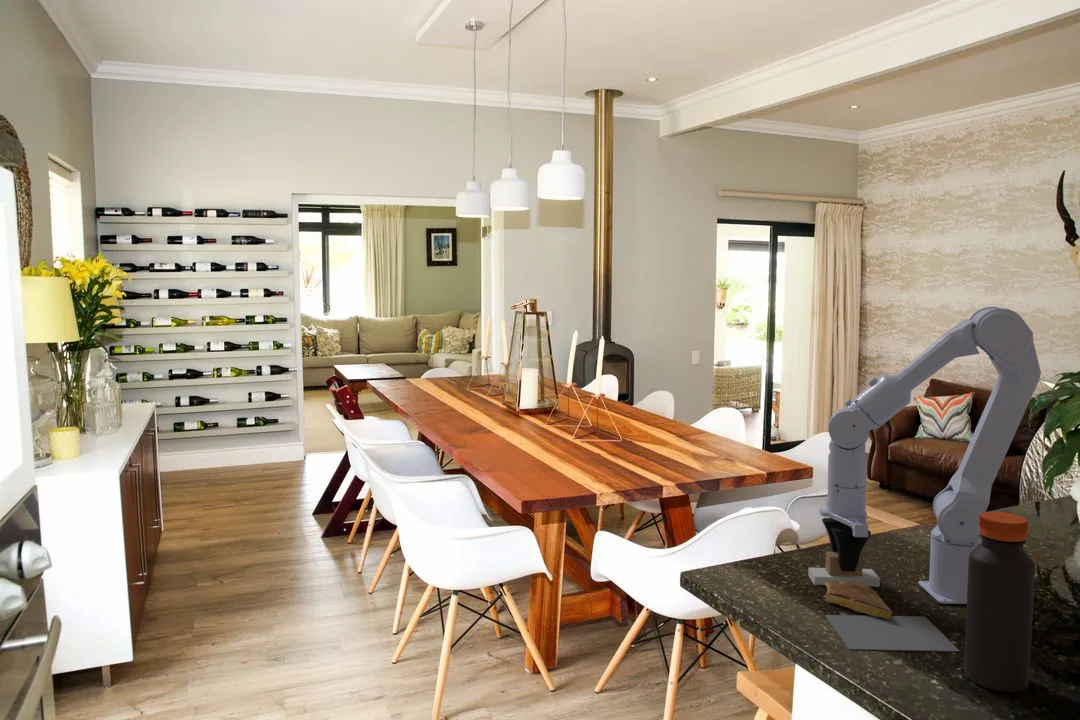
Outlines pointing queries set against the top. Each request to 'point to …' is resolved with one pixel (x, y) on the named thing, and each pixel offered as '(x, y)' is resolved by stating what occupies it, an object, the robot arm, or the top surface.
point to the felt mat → (890, 633)
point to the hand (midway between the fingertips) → (844, 566)
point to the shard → (857, 598)
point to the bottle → (999, 605)
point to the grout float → (842, 573)
